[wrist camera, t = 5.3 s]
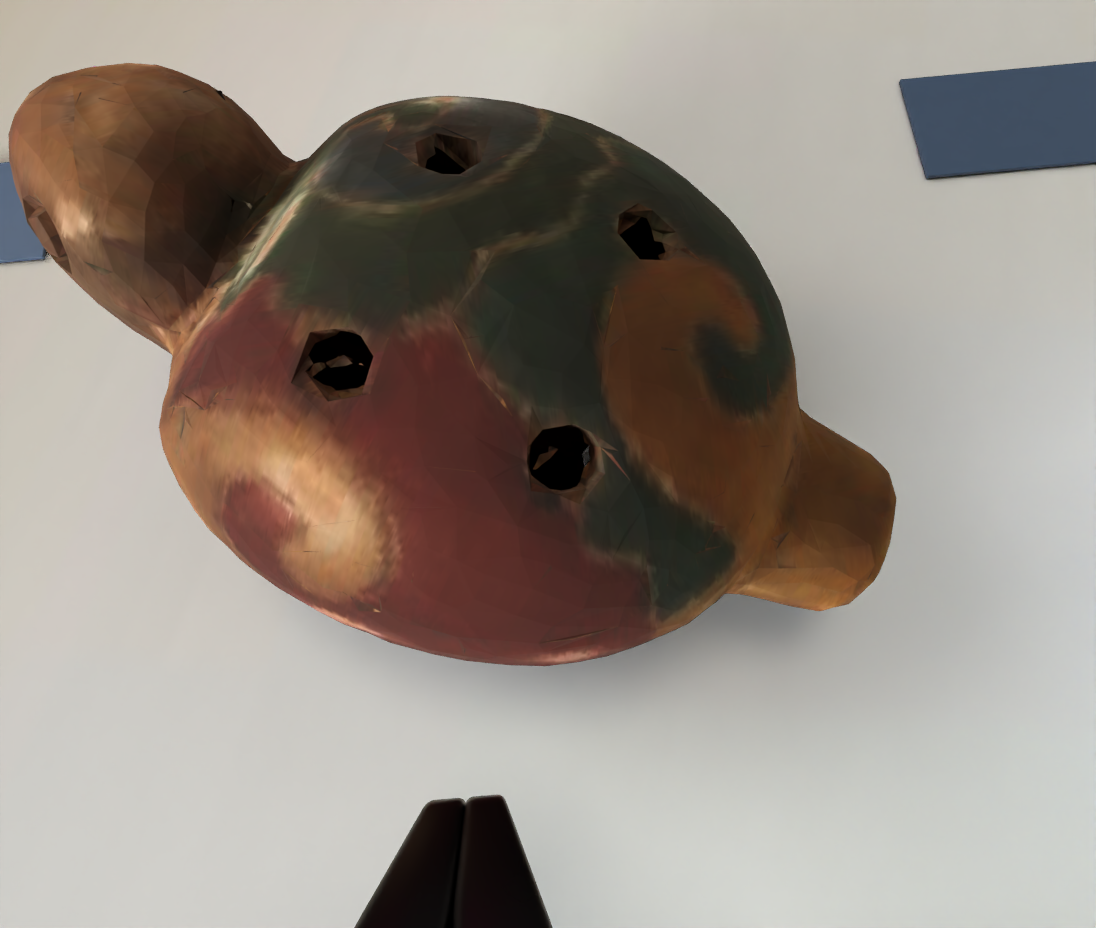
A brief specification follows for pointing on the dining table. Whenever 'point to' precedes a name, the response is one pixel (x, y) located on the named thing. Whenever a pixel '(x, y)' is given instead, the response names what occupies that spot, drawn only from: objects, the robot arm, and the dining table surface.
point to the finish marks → (936, 118)
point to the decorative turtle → (454, 365)
